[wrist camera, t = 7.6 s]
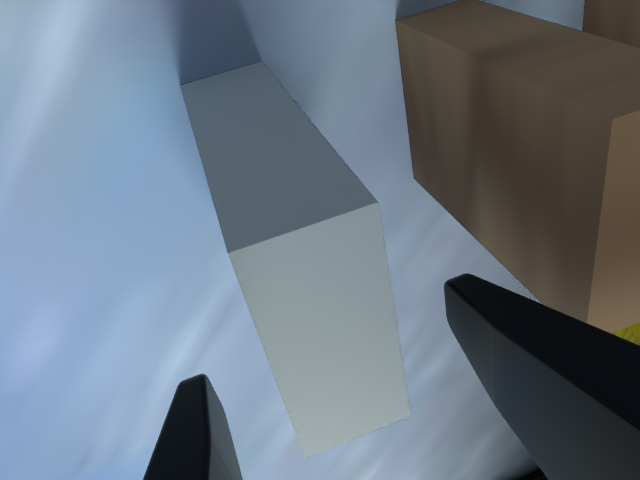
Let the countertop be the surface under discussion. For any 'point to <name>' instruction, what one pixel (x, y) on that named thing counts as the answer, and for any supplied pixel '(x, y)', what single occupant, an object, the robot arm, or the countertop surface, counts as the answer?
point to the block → (302, 256)
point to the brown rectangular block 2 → (613, 20)
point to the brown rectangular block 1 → (532, 149)
